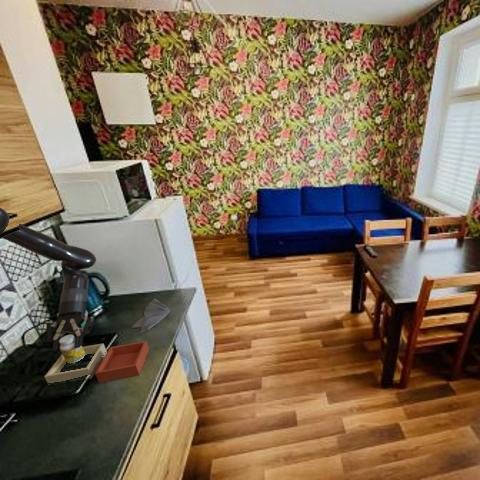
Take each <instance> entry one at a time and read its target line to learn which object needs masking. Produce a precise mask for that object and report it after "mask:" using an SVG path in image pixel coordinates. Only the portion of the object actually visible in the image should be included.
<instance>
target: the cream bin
mask: <svg viewBox="0 0 480 480" xmlns="http://www.w3.org/2000/svg"><path fill="white" fill-rule="evenodd" d="M82 347H83V350H84V352H85V355H87V354H94V353H95V354H94V356H93V357H92V359H91V361H90V362H89V364H88V365H87V367H86V368H81V369H76V370H70V371H65V372H60V371H61V369H62V368H63V367H64V365H65V364H66V360H65V358H64V356H63V354H62V353H61V355H60V356H59V357H58V358H57V360H56V361H55V362H54V364H53V365H52V366H51V368H50V369H49V370H48V372H46V374H45V375H44V379H45V381H46V383H47V384H48V383H54V382H61V381H66V380H70V379H74V378H78V377H82V376H85V375H90V378H89V379H88V380H91V379H93V378H94V376H95V375H96V374H95V373H96V371H97V369H98V368H99V366H100V364H101V362H102V361H103V359H104V357H105V355H106V354H107V352H108V351H107V349H106V346H105V343H98V344H92V345H86V346H82ZM105 352H106V353H105ZM103 355H104V356H103ZM102 356H103V357H102Z"/></svg>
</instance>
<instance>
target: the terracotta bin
mask: <svg viewBox="0 0 480 480" xmlns="http://www.w3.org/2000/svg"><path fill="white" fill-rule="evenodd" d="M149 351H150V347H149V344H148V342H147V340H143V341H138V342H131V343H127V344H120V345H115V346H110V347H109V349H108V351H107V353H106V355H105V357H104V359H103V360H102V362H101V364H100V365H99V367H98V369H97V371H96V372H95V374H94V375H95V376H96V379H97V382H98V383H99V384H101V383H107V382H112V381H117V380H121V379H126V378H132V377H136V376H140V374H141V372H142V369H143V366H144V364H145V361H146V359H147V357H148V354H149Z"/></svg>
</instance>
